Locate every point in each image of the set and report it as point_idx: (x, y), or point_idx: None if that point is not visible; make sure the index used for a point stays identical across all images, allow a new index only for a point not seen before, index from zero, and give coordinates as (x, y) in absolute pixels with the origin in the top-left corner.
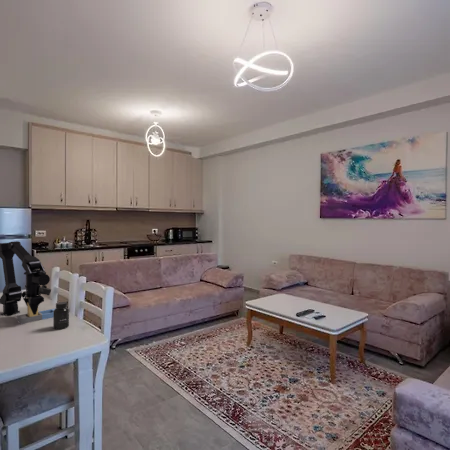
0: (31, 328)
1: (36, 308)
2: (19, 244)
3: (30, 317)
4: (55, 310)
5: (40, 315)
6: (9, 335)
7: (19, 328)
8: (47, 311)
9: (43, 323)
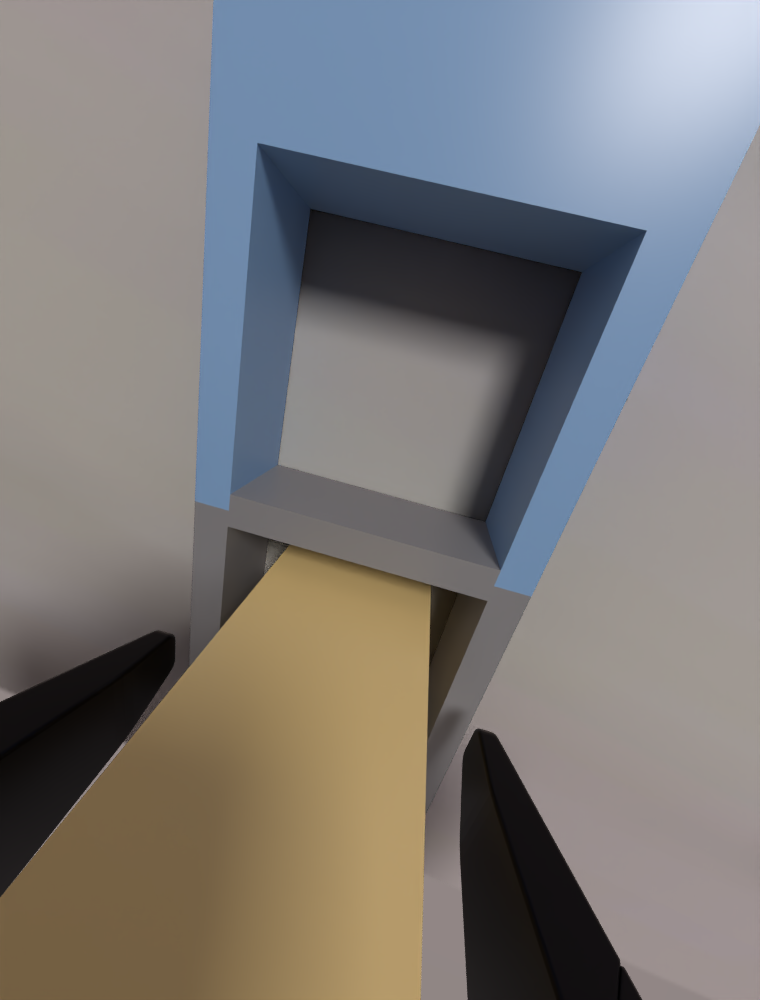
0: (738, 811)
1: (609, 987)
2: None
3: (453, 748)
4: None
5: (514, 619)
6: (680, 958)
7: (570, 841)
8: (263, 299)
9: (733, 643)
